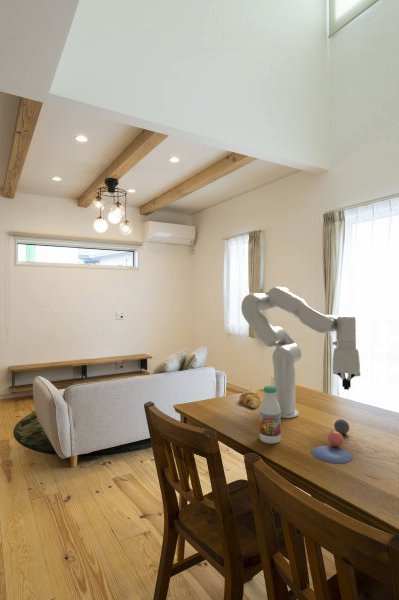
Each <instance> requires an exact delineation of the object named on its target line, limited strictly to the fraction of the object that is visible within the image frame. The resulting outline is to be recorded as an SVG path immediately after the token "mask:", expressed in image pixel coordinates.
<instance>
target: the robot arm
mask: <svg viewBox="0 0 399 600" xmlns="http://www.w3.org/2000/svg"><path fill="white" fill-rule="evenodd" d="M277 307H278V308H279V309H281V310H282V311H285V312H286V313H288V314H290V315H291V316H293V317H294V318H295V319H297V320H298V321H299V322H301V323H302V324H303V325H305V326H307V327H308V328H309V329H311V330H314V331H316V332H317V333H320V334H328V333H332V332H335V337H336V339H335V341H332V346H335V347H334V348H333V356H332V374H334V375H336V376H338V377H339V378H340V379H341V380H342V383H341V384H342V385H341V386H342V388H343V390H347V391H349V390H350V388H351V386H352V385H351V381H352V379H354V377H355V378H356V377H360V376H361V371H360V370H361V368H360V367H361V366H360V365H361V364H360V363H361V362H360V356H359V351H358V350H359V349H358V348H357V334H356V332H357V331H356V330H357V329H356V326H357V323H356V317H355V316H353V315H333V314H322V313H320V312H318V311H317V310H315V309H313V308H312V307H310V306H309V305H308V303H307V302H306V301H305V299H303V298H301V297H299V296H297V295H296V294H293V293H292V292H291V290H290V289H289V288H287V287H284V286H274V287H271V288H270V289H269V290H268V291H266V292H263V293H262V292H261V293H255V292H252V293H249V294H247V295H246V296H244V298H243V300H242V301H241V307H240V308H241V310H240V311H241V313H242V316H243V319H244V320H245V321H246V323H247V324H248V325H249V326H250V327H251V329H252V330H253V332H254V333H255V334H256V336H258V338H259V340H260V341H261V342H262V343H263V345H264V346H265V347H268V348H274V347H275V349H274V350H273V353H272V365H273V386H274V387H276V398H277V401H278V403H279V406H280V413H281V418H283V419H292V418H296V417H298V416H299V414H300V413H299V411H298V410H297V409H296V371H295V366H294V364H296V363H297V362H299V361H300V360H301V358H302V351H301V348H300V347H299V345H298V344H297V342H296V341H295V340H294V338H292V336H291V335H290V333H288V331H287V330H286V329H284V328H283V327H282V326H279V325H273V324H272V323H271V321H269V319H268V318H267V317H266V315H264V314H263V313H262V312H261V311H266V310H269V309H273V308H277ZM346 374H347V377H346Z"/></svg>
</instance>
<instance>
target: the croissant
mask: <svg viewBox="0 0 399 600" xmlns="http://www.w3.org/2000/svg"><path fill="white" fill-rule="evenodd" d="M239 401H240V402H241V403H242V404H243V405H245V406H246V407H249V408H251V409H256V408H258V407H259V406H260V405H261V404H260V403H261V399H260V396H259V393H258V392H257V391H255V390H253V389H247V390H244V391H243V392H242V393H241V394H240V395H239Z"/></svg>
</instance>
